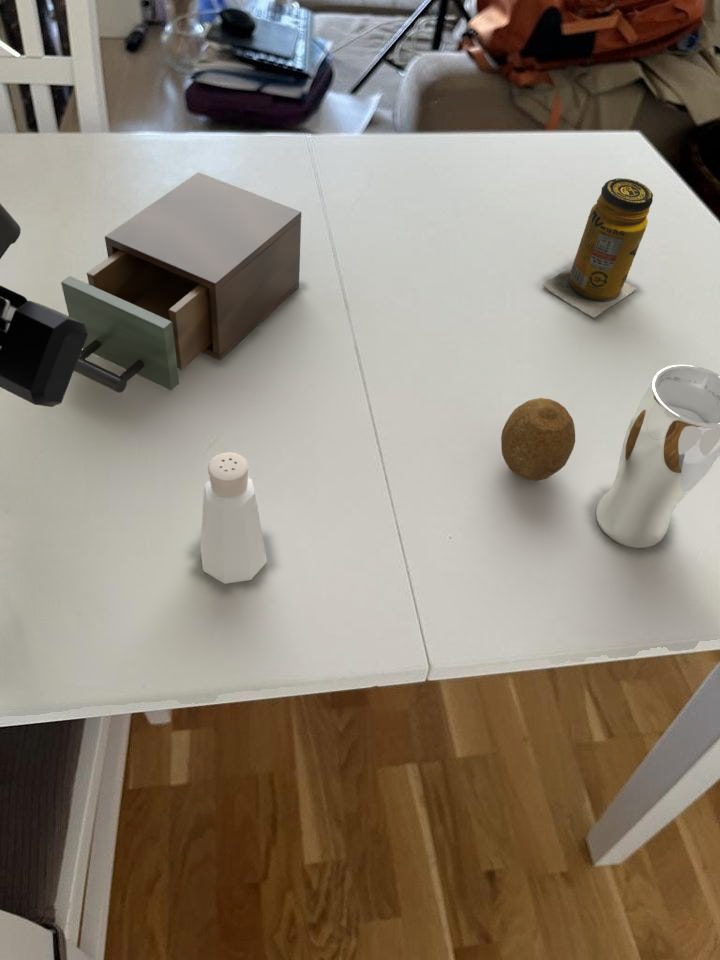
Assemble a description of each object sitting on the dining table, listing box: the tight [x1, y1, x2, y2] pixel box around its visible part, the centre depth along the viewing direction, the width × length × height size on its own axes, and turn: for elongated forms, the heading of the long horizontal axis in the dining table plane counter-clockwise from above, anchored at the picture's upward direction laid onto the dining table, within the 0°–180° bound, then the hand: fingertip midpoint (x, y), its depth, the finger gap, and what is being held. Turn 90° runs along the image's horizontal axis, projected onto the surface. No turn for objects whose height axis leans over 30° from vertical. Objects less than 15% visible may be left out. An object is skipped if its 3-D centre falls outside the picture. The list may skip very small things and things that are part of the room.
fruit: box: [500, 397, 576, 481], centre depth 72 cm, size 6×6×8 cm
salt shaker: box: [199, 451, 268, 584], centre depth 62 cm, size 5×5×11 cm
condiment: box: [541, 177, 654, 319], centre depth 89 cm, size 7×8×12 cm
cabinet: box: [104, 171, 302, 362], centre depth 84 cm, size 15×13×9 cm
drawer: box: [60, 250, 213, 394], centre depth 78 cm, size 18×11×7 cm, turn 151°
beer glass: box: [595, 364, 720, 549], centre depth 66 cm, size 7×7×15 cm
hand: (40, 336), depth 66 cm, fingers closed
